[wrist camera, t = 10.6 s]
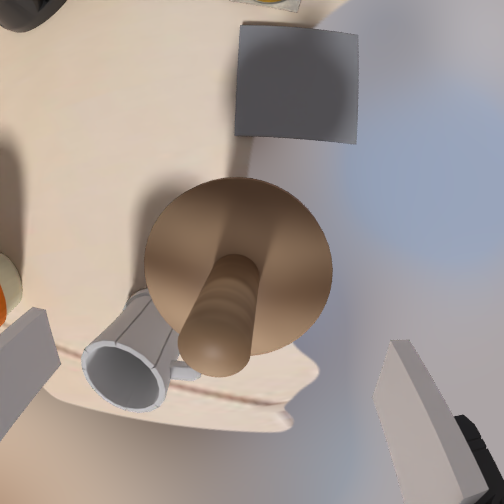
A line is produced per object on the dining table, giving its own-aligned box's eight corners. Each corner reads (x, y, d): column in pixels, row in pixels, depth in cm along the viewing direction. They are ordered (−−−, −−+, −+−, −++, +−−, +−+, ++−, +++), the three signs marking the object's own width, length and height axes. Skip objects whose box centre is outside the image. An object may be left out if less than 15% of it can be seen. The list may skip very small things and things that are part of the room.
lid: (146, 177, 20) (64, 199, 11) (336, 181, 19) (385, 206, 10) (158, 339, 23) (112, 421, 15) (318, 349, 23) (335, 443, 14)
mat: (240, 28, 27) (240, 25, 26) (356, 37, 26) (358, 35, 26) (235, 135, 31) (234, 135, 30) (354, 144, 30) (356, 144, 29)
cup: (178, 267, 35) (137, 319, 24) (220, 330, 38) (200, 398, 26) (113, 303, 38) (65, 356, 26) (154, 359, 40) (122, 421, 28)
